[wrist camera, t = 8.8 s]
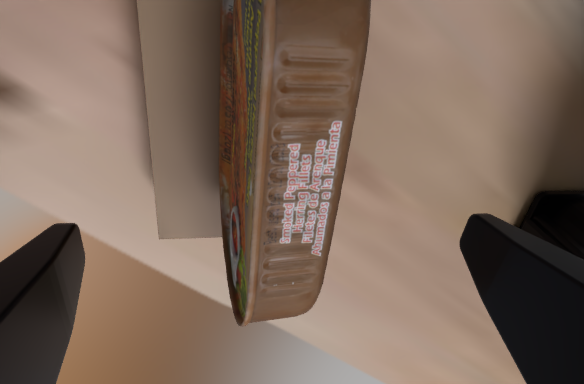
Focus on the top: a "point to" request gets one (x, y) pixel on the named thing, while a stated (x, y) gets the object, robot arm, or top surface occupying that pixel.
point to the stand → (183, 113)
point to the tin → (284, 144)
